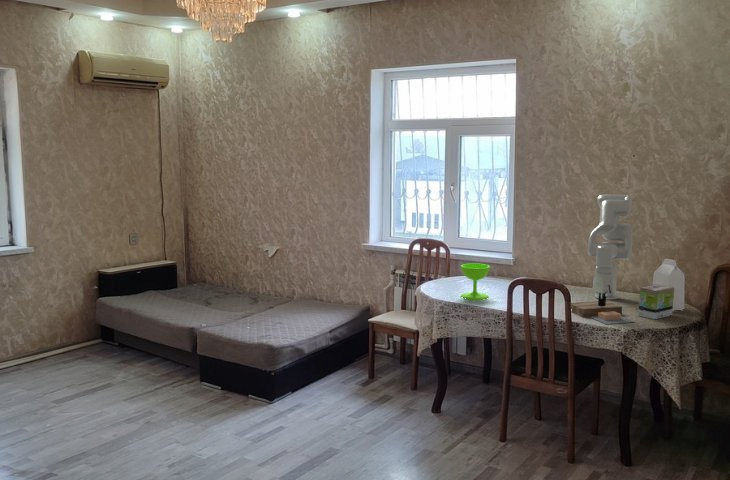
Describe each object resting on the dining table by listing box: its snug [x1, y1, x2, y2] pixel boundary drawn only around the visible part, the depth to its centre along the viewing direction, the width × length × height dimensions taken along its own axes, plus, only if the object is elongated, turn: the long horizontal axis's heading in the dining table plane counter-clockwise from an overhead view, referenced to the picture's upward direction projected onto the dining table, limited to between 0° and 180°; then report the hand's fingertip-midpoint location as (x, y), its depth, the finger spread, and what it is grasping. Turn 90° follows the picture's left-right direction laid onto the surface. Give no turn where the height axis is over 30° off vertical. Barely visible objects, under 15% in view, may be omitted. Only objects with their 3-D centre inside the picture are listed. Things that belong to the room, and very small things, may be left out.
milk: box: [651, 258, 686, 312], centre depth 350 cm, size 12×12×26 cm
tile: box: [598, 311, 622, 320], centre depth 329 cm, size 6×9×2 cm, turn 103°
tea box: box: [637, 285, 674, 320], centre depth 335 cm, size 15×10×15 cm, turn 126°
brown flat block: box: [570, 300, 623, 318], centre depth 342 cm, size 14×22×4 cm, turn 104°
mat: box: [589, 315, 636, 326], centre depth 328 cm, size 14×16×1 cm
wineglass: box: [460, 263, 491, 301], centre depth 376 cm, size 16×16×18 cm
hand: (601, 305), depth 336 cm, fingers closed
